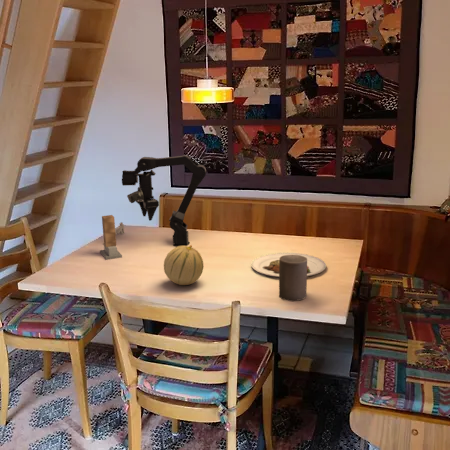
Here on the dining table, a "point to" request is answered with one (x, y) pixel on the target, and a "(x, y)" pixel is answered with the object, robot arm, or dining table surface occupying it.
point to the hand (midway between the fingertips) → (147, 218)
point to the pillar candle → (292, 277)
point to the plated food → (271, 264)
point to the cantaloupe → (183, 265)
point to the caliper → (120, 229)
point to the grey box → (110, 252)
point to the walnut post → (109, 230)
